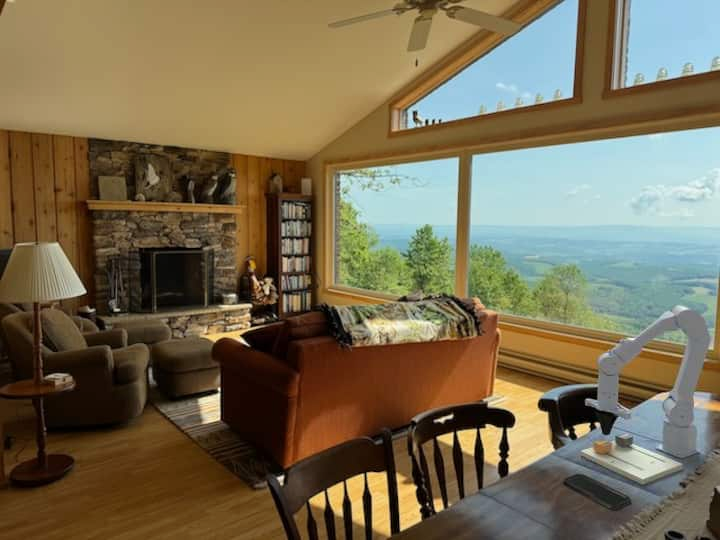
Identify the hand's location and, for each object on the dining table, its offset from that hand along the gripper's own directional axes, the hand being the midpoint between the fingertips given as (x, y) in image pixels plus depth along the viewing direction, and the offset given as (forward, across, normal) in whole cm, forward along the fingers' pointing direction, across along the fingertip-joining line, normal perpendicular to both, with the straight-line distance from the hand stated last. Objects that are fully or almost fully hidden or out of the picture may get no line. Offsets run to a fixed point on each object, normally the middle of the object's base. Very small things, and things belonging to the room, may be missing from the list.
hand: (606, 434), depth 156 cm
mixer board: (+3, +12, -6) cm, 14 cm away
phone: (+3, +18, -29) cm, 34 cm away
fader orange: (+1, +6, -10) cm, 12 cm away
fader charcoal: (+1, +6, 0) cm, 6 cm away
